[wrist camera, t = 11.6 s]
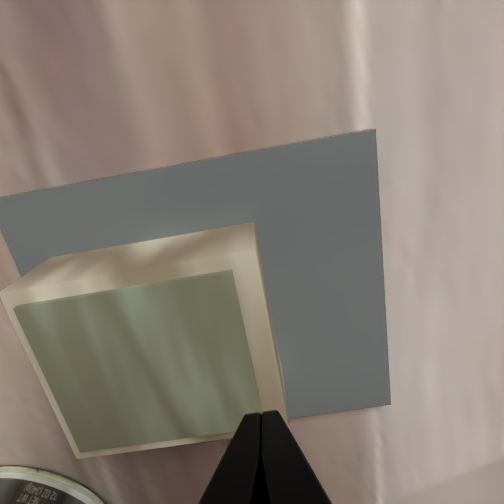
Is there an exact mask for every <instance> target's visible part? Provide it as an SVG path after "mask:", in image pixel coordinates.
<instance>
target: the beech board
mask: <svg viewBox="0 0 504 504" xmlns="http://www.w3.org/2000/svg"><path fill="white" fill-rule="evenodd" d="M0 298H1V301H2V303H3V305H4V307H5V309H6V311H7V313H8V315H9V317H10V319H11V322H12V324H13V326H14V328H15V330H16V332H17V334H18V336H19V338H20V341H21V343H22V345H23V347H24V349H25V351H26V353H27V355H28V357H29V360H30V362H31V364H32V366H33V368H34V370H35V372H36V374H37V376H38V378H39V381H40V383H41V385H42V387H43V389H44V391H45V393H46V395H47V397H48V400H49V402H50V404H51V406H52V408H53V410H54V412H55V414H56V416H57V419H58V421H59V423H60V425H61V427H62V429H63V431H64V433H65V435H66V438H67V440H68V442H69V444H70V446H71V448H72V450H73V452H74V454H75V456H76V459H83V458H90V457H97V456H104V455H112V454H119V453H126V452H134V451H141V450H148V449H156V448H163V447H170V446H178V445H185V444H192V443H200V442H207V441H214V440H221V439H229V438H233V436H234V434H235V432H236V430H237V428H238V426H239V424H240V422H241V420H242V418H243V416H244V415H245V414H248V413H255V412H260V413H261V414H262V412H264V411H270V410H278V411H279V413H280V414H281V416H282V418H283V420H284V421H285V423H286V425H287V426H288V428H289V422H288V413H287V405H286V397H285V388H284V380H283V373H282V367H281V362H280V356H279V351H278V345H277V340H276V335H275V329H274V324H273V318H272V313H271V307H270V302H269V296H268V291H267V286H266V280H265V275H264V269H263V264H262V258H261V253H260V248H259V242H258V237H257V231H256V226H255V222H252V223H246V224H241V225H235V226H229V227H223V228H218V229H212V230H206V231H201V232H195V233H189V234H183V235H178V236H172V237H166V238H160V239H155V240H149V241H143V242H138V243H132V244H126V245H120V246H115V247H109V248H103V249H97V250H92V251H86V252H80V253H74V254H69V255H63V256H57V257H52V258H49V259H48V260H46V261H45V262H43V263H42V264H40V265H39V266H37V267H36V268H34V269H33V270H31V271H30V272H28V273H27V274H25V275H24V276H22V277H21V278H20V279H18V280H17V281H15V282H14V283H12V284H11V285H9V286H8V287H6V288H5V289H3V290H2V291H0Z"/></svg>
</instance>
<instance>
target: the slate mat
mask: <svg viewBox="0 0 504 504" xmlns="http://www.w3.org/2000/svg"><path fill="white" fill-rule="evenodd" d="M252 222H255V226H256V231H257V237H258V242H259V248H260V253H261V258H262V264H263V269H264V275H265V280H266V286H267V291H268V296H269V302H270V307H271V313H272V318H273V324H274V329H275V335H276V340H277V345H278V351H279V356H280V362H281V367H282V373H283V380H284V388H285V397H286V405H287V413H288V419H289V418H297V417H304V416H311V415H318V414H326V413H333V412H340V411H348V410H355V409H362V408H370V407H377V406H384V405H391V398H390V380H389V362H388V344H387V326H386V307H385V289H384V271H383V253H382V235H381V217H380V199H379V181H378V163H377V145H376V129H367V130H362V131H356V132H351V133H345V134H340V135H334V136H329V137H324V138H318V139H313V140H307V141H302V142H297V143H291V144H286V145H280V146H275V147H269V148H264V149H259V150H253V151H248V152H242V153H237V154H231V155H226V156H221V157H215V158H210V159H204V160H199V161H194V162H188V163H183V164H177V165H172V166H166V167H161V168H156V169H150V170H145V171H139V172H134V173H128V174H123V175H118V176H112V177H107V178H101V179H96V180H91V181H85V182H80V183H74V184H69V185H63V186H58V187H53V188H47V189H42V190H36V191H31V192H25V193H20V194H15V195H9V196H4V197H0V229H1V231H2V234H3V236H4V238H5V241H6V243H7V245H8V247H9V250H10V252H11V254H12V257H13V259H14V261H15V263H16V266H17V268H18V270H19V272H20V275H21V277H22V276H24V275H25V274H27V273H28V272H30V271H31V270H33V269H34V268H36V267H37V266H39V265H40V264H42V263H43V262H45V261H46V260H48V259H49V258H52V257H57V256H63V255H69V254H74V253H80V252H86V251H92V250H97V249H103V248H109V247H115V246H120V245H126V244H132V243H138V242H143V241H149V240H155V239H160V238H166V237H172V236H178V235H183V234H189V233H195V232H201V231H206V230H212V229H218V228H223V227H229V226H235V225H241V224H246V223H252Z"/></svg>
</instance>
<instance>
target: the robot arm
mask: <svg viewBox="0 0 504 504" xmlns="http://www.w3.org/2000/svg"><path fill="white" fill-rule="evenodd" d="M199 504H332V503H331V501H330V499H329V497H328V496H327V494H326V492H325V490H324V489H323V487H322V485H321V484H320V482H319V480H318V478H317V477H316V475H315V473H314V471H313V470H312V468H311V466H310V464H309V463H308V461H307V459H306V458H305V456H304V454H303V452H302V451H301V449H300V447H299V445H298V444H297V442H296V440H295V439H294V437H293V435H292V433H291V432H290V430H289V428H288V426H287V425H286V423H285V421H284V420H283V418H282V416H281V414H280V413H279V411H278V410H270V411H264V412H262V414H261V413H260V412H255V413H248V414H245V415H244V416H243V418H242V420H241V422H240V424H239V426H238V428H237V430H236V432H235V434H234V436H233V438H232V440H231V441H230V443H229V445H228V447H227V449H226V451H225V453H224V455H223V457H222V459H221V461H220V463H219V465H218V467H217V469H216V471H215V473H214V474H213V476H212V478H211V480H210V482H209V484H208V486H207V488H206V490H205V492H204V494H203V496H202V498H201V500H200V502H199Z"/></svg>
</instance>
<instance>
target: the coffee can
mask: <svg viewBox="0 0 504 504" xmlns="http://www.w3.org/2000/svg"><path fill="white" fill-rule="evenodd" d="M0 504H105V503H104V502H103V501H102V499H101V498H99V497H98V496H97V495H96V494H95V493H93V492H92V491H91V490H89V489H88V488H86V487H84V486H82V485H81V484H79V483H77V482H75V481H73V480H71V479H69V478H67V477H64V476H62V475H59V474H56V473H53V472H49V471H46V470H41V469H36V468H30V467H24V466H0Z"/></svg>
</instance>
